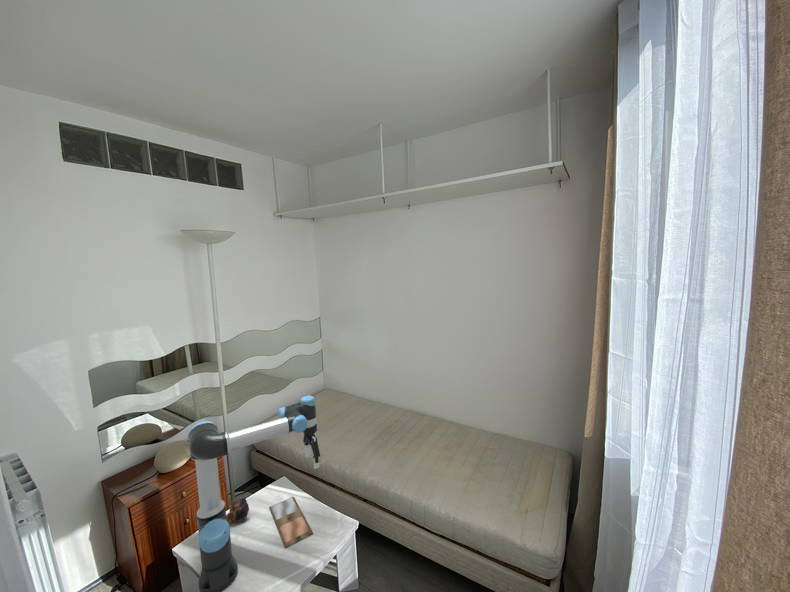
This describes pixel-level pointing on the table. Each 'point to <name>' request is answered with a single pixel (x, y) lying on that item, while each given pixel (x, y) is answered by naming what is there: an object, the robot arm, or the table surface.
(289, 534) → the board
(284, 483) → the table surface
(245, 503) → the rock
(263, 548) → the table surface
